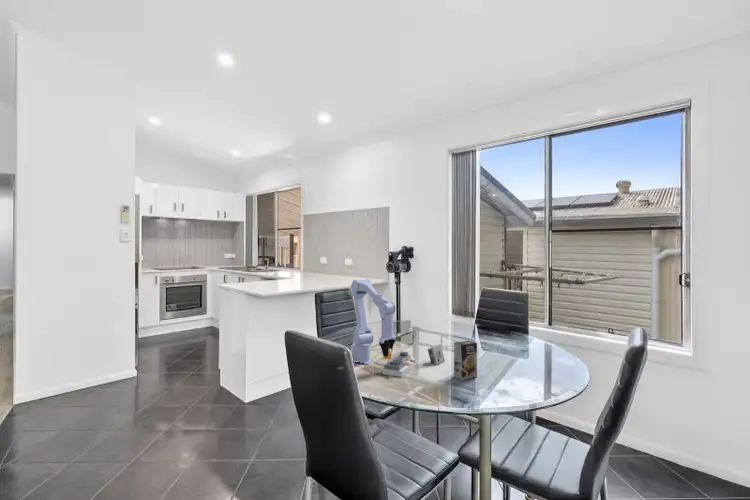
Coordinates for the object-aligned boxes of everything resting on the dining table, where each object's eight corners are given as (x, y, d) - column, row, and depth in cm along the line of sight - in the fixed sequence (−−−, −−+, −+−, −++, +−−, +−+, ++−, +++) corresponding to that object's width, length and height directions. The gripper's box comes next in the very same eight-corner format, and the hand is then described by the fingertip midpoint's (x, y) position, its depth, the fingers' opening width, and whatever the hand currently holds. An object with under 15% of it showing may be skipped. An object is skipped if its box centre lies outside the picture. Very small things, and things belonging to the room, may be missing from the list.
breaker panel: (382, 374, 176) (382, 363, 176) (399, 362, 196) (399, 353, 196) (401, 376, 172) (401, 366, 172) (417, 364, 191) (417, 355, 192)
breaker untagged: (400, 357, 190) (400, 352, 190) (402, 356, 193) (402, 351, 193) (405, 358, 189) (405, 353, 189) (407, 356, 192) (407, 352, 192)
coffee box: (462, 380, 167) (462, 344, 167) (453, 376, 172) (453, 342, 173) (477, 377, 171) (477, 342, 171) (468, 373, 177) (468, 340, 177)
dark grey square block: (395, 363, 184) (395, 358, 184) (397, 361, 187) (397, 356, 187) (401, 364, 183) (401, 359, 183) (403, 362, 186) (403, 357, 186)
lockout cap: (382, 358, 179) (381, 348, 179) (385, 356, 183) (385, 346, 183) (389, 359, 177) (389, 349, 177) (392, 357, 181) (392, 347, 181)
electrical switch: (436, 365, 190) (435, 347, 191) (428, 364, 193) (426, 347, 194) (445, 361, 197) (443, 344, 198) (436, 361, 200) (435, 343, 201)
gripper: (388, 330, 172) (388, 359, 172) (400, 325, 185) (400, 352, 185) (375, 329, 175) (375, 357, 175) (387, 324, 188) (387, 351, 188)
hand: (387, 355), depth 180 cm, fingers closed on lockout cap, 4 cm apart
